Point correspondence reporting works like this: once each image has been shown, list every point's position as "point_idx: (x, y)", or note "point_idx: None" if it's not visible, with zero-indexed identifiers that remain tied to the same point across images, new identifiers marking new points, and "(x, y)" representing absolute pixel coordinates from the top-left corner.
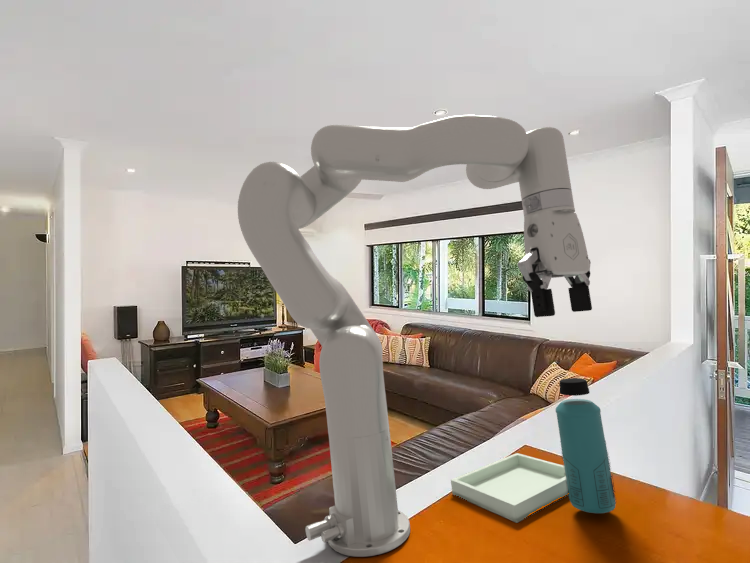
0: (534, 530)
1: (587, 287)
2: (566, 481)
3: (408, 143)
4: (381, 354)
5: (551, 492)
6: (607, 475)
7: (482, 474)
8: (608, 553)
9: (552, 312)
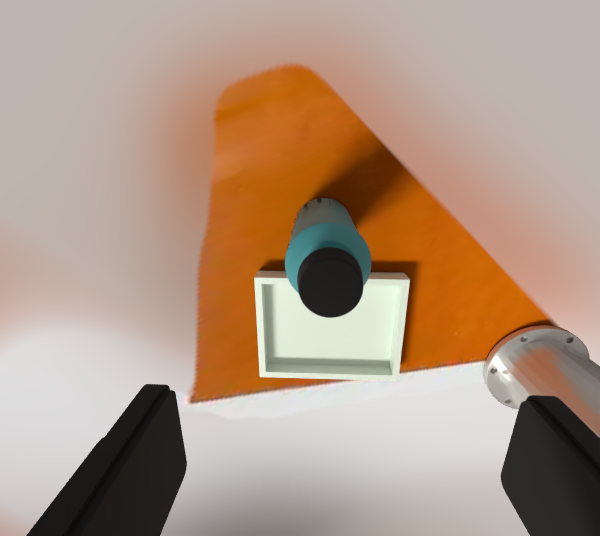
0: (405, 248)
1: (53, 534)
2: None
3: None
4: None
5: None
6: (325, 203)
7: (343, 369)
8: (396, 165)
9: (565, 404)
